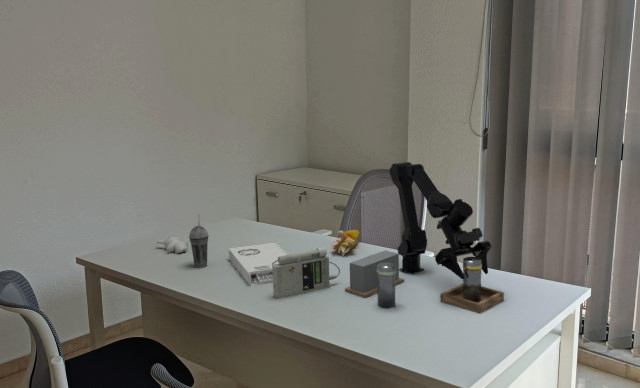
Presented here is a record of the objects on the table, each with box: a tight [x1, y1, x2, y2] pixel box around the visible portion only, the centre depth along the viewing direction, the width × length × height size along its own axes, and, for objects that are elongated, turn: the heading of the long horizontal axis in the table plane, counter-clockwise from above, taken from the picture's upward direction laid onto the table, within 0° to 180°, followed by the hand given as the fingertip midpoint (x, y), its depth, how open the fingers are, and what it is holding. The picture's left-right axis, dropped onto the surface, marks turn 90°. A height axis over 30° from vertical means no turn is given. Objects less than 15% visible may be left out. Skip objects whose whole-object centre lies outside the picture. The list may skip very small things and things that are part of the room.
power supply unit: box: [228, 242, 289, 287], centre depth 242 cm, size 19×33×5 cm, turn 20°
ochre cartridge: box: [462, 256, 482, 302], centre depth 204 cm, size 6×6×13 cm
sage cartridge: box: [377, 262, 396, 309], centre depth 203 cm, size 6×6×13 cm
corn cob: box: [330, 229, 360, 257], centre depth 263 cm, size 8×8×25 cm
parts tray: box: [439, 283, 505, 314], centre depth 205 cm, size 14×14×3 cm
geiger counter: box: [272, 246, 341, 299], centre depth 218 cm, size 14×6×25 cm
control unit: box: [344, 250, 405, 299], centre depth 219 cm, size 20×9×10 cm, turn 134°
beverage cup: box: [188, 214, 209, 269], centre depth 245 cm, size 7×7×20 cm
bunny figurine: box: [156, 236, 189, 254], centre depth 269 cm, size 10×5×15 cm
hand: (475, 276), depth 202 cm, fingers open, 9 cm apart
